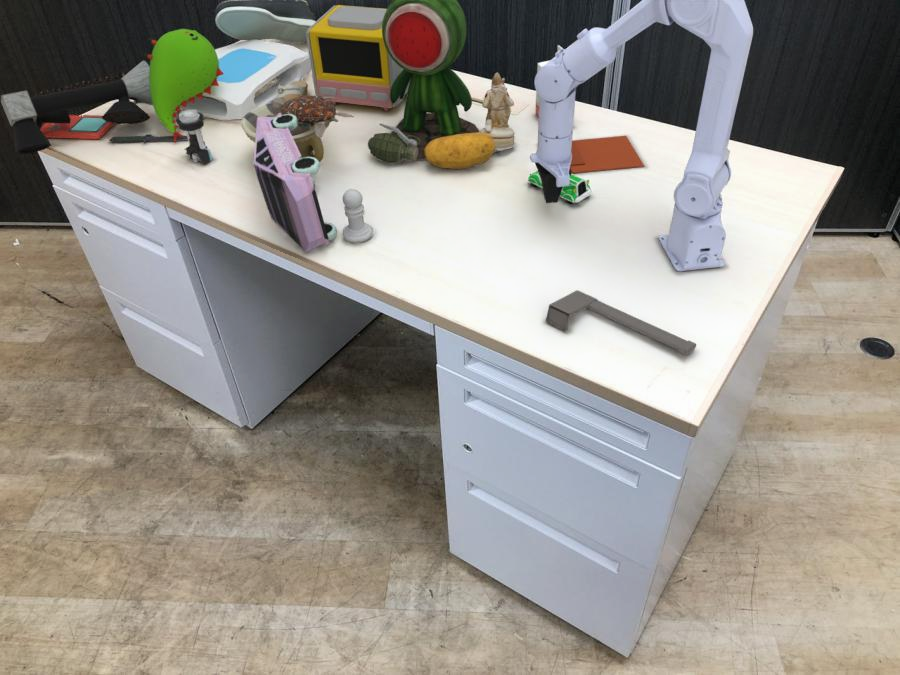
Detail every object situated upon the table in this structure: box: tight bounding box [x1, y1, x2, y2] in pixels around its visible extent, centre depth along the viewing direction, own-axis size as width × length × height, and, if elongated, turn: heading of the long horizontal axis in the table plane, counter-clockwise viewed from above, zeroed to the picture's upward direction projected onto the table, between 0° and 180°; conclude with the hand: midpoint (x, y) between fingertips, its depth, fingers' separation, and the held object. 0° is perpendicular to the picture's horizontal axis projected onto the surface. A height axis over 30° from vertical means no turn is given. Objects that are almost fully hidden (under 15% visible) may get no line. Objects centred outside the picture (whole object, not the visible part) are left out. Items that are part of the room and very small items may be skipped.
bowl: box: [240, 100, 331, 163], centre depth 150 cm, size 18×18×10 cm
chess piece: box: [341, 188, 374, 243], centre depth 131 cm, size 5×5×9 cm
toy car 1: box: [253, 113, 338, 253], centre depth 133 cm, size 15×25×10 cm
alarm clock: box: [306, 4, 410, 112], centre depth 167 cm, size 20×16×18 cm
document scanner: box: [180, 39, 312, 121], centre depth 175 cm, size 21×28×6 cm
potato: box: [424, 131, 495, 170], centre depth 148 cm, size 8×14×7 cm, turn 88°
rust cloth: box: [570, 135, 645, 175], centre depth 151 cm, size 12×18×1 cm, turn 97°
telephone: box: [0, 60, 153, 155], centre depth 161 cm, size 15×13×30 cm
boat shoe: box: [214, 0, 318, 44], centre depth 186 cm, size 11×30×9 cm
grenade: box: [367, 122, 421, 164], centre depth 150 cm, size 6×7×10 cm
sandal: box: [276, 80, 309, 101], centre depth 170 cm, size 7×16×5 cm, turn 167°
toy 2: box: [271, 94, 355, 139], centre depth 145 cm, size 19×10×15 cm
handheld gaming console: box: [40, 114, 116, 140], centre depth 166 cm, size 9×1×15 cm
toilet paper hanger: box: [545, 290, 697, 356], centre depth 112 cm, size 20×8×3 cm, turn 49°
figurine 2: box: [479, 72, 515, 153], centre depth 151 cm, size 7×7×15 cm
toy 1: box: [143, 28, 224, 143], centre depth 159 cm, size 13×23×15 cm
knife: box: [108, 133, 188, 144], centre depth 162 cm, size 18×1×3 cm
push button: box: [175, 109, 213, 166], centre depth 152 cm, size 7×5×10 cm
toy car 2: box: [527, 170, 594, 206], centre depth 141 cm, size 12×5×4 cm, turn 45°
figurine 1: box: [382, 0, 480, 161], centre depth 148 cm, size 17×20×30 cm
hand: (551, 200), depth 136 cm, fingers closed
